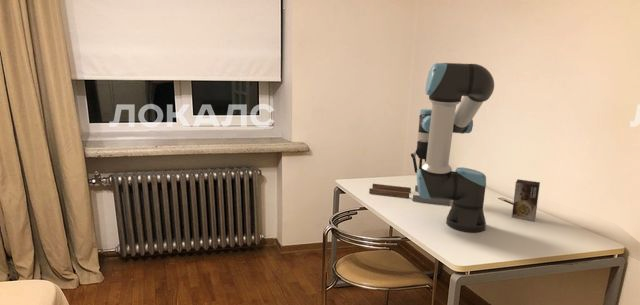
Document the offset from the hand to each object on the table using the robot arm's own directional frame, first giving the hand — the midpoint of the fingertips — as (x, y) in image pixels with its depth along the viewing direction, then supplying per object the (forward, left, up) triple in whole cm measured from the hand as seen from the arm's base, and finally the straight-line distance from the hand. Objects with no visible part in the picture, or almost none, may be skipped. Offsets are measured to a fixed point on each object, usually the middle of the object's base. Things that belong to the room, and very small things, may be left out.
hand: (421, 186), depth 195 cm
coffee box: (-14, -45, -5) cm, 47 cm away
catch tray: (0, -5, -5) cm, 7 cm away
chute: (0, +15, -5) cm, 16 cm away
